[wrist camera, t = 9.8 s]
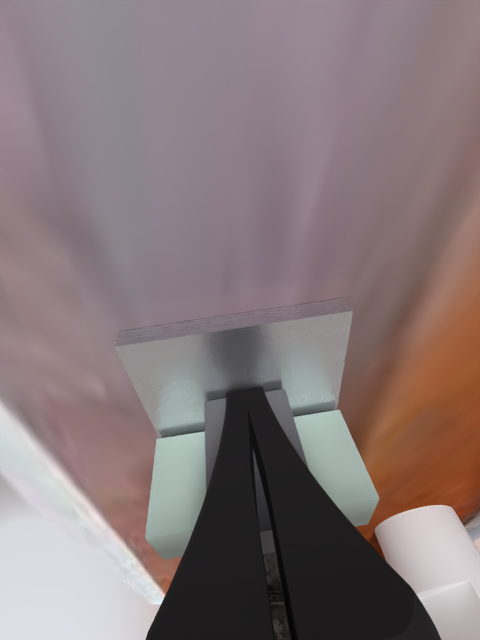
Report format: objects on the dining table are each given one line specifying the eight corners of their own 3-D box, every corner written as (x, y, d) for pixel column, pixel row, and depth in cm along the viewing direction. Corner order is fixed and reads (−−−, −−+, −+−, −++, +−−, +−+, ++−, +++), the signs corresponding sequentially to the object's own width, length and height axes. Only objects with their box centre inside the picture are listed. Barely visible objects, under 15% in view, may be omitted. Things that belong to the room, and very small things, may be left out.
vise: (343, 297, 13) (421, 406, 9) (316, 498, 26) (341, 583, 22) (119, 331, 13) (76, 462, 8) (204, 517, 26) (206, 607, 22)
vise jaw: (344, 379, 15) (410, 506, 10) (334, 439, 18) (379, 554, 14) (142, 411, 14) (117, 556, 10) (170, 466, 18) (161, 592, 13)
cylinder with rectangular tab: (407, 504, 30) (503, 693, 21) (471, 505, 33) (583, 674, 23) (359, 537, 35) (419, 702, 26) (418, 536, 38) (493, 686, 28)
